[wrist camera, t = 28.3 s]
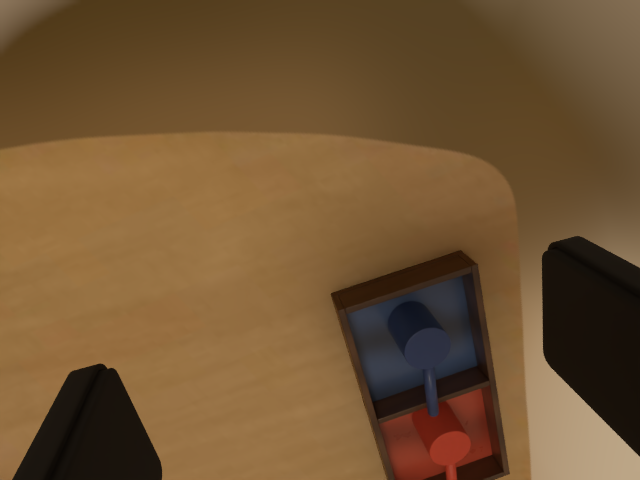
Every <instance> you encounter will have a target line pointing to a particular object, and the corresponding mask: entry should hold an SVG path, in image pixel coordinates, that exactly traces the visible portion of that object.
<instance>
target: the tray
mask: <svg viewBox="0 0 640 480" xmlns="http://www.w3.org/2000/svg"><path fill="white" fill-rule="evenodd" d="M331 297H332V300H333V303H334V307H335V310H336V313H337V316H338V320H339V323H340V326H341V330H342V333H343V336H344V339H345V343H346V346H347V349H348V352H349V356H350V359H351V362H352V366H353V369H354V372H355V375H356V379H357V382H358V385H359V389H360V392H361V395H362V398H363V402H364V405H365V408H366V411H367V415H368V418H369V421H370V425H371V428H372V431H373V434H374V438H375V441H376V444H377V448H378V451H379V454H380V457H381V461H382V464H383V467H384V470H385V474H386V477H387V480H446V471H445V465H439V464H436V463H435V462H433V461H432V459H431V458H430V456H429V454H428V452H427V450H426V448H425V446H424V444H423V442H422V440H421V438H420V436H419V434H418V432H417V430H416V428H415V426H414V423H413V419H412V417H413V413H414V412H415V411H418V410H421V409H424V408H427V404H426V395H425V387H424V379H423V371H422V369H417V368H414V367H412V366H411V365H409V364H408V362H407V361H406V359H405V357H404V356H403V354H402V352H401V351H400V349H399V347H398V345H397V344H396V342H395V340H394V338H393V337H392V335H391V333H390V331H389V329H388V319H389V316H390V314H391V313H392V311H393V310H394V309H395V308H396V307H397V306H399V305H400V304H402V303H405V302H409V301H415V302H419V303H422V304H423V305H425V306H426V307H427V308H428V310H429V311H430V312H431V314H432V315H433V316H434V317H435V319H436V320H437V321H438V322H439V324H440V325H441V326H442V328H443V329H444V330H445V331H446V333H447V334H448V335H449V337H450V340H451V349H450V352H449V354H448V356H447V357H446V359H445V360H444V361H443V362H442V363H440V364H439V365H437V366H436V367H434V369H435V378H436V388H437V397H438V403H441V402H444V401H446V402H447V403H448V404H449V406H450V407H451V409H452V410H453V412H454V414H455V415H456V417H457V418H458V420H459V422H460V423H461V425H462V426H463V428H464V430H465V431H466V433H467V434H468V436H469V438H470V441H471V447H470V450H469V452H468V453H467V455H466V456H465V457H464V458H463V459H462V460H460V461H458V462H457V463H456V472H457V480H495V479H497V478H500V477H503V476H504V475H508V474H510V472H509V466H508V459H507V453H506V446H505V440H504V433H503V427H502V420H501V414H500V407H499V401H498V394H497V388H496V381H495V375H494V368H493V362H492V355H491V349H490V342H489V336H488V329H487V322H486V316H485V309H484V303H483V296H482V290H481V283H480V277H479V270H478V264H477V263H475V262H474V261H473V260H472V259H471V258H469V257H468V256H467V255H466V254H465V253H463V252H462V251H458V252H455V253H452V254H449V255H446V256H443V257H440V258H437V259H434V260H431V261H428V262H425V263H422V264H419V265H416V266H413V267H410V268H407V269H404V270H401V271H398V272H395V273H392V274H389V275H386V276H383V277H380V278H377V279H374V280H371V281H368V282H365V283H362V284H359V285H356V286H353V287H350V288H347V289H344V290H341V291H338V292H334V293H331Z"/></svg>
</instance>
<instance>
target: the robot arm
mask: <svg viewBox="0 0 640 480" xmlns="http://www.w3.org/2000/svg"><path fill="white" fill-rule="evenodd" d="M542 288H543V289H542V295H543V353H544V356H545V359H546V361H547V362H548V364H549V365H550V367H551V368H552V369H553V370H554V371H555V372H556V373H557V374H558V375H559V376H560V377H561V378H562V379H563V380H564V381H565V382H566V383H567V384H568V385H569V386H570V387H571V388H572V389H573V390H574V391H575V392H576V393H577V394H578V395H579V396H580V397H581V398H582V399H583V400H584V401H585V402H586V403H587V404H588V405H589V406H590V407H591V408H592V409H593V410H594V411H595V412H596V413H597V414H598V415H599V416H600V417H601V418H602V419H603V420H604V421H605V422H606V423H607V424H608V425H609V426H610V427H611V428H612V429H613V430H614V431H615V432H616V433H617V434H618V435H619V436H620V437H621V438H622V439H623V440H624V441H625V442H626V443H627V444H628V445H629V446H630V447H631V448H632V449H633V450H634V451H635V452H636V453H637V454H638V455H639V456H640V268H639V267H637V266H635V265H633V264H631V263H629V262H628V261H626V260H624V259H622V258H620V257H618V256H616V255H615V254H613V253H611V252H609V251H607V250H605V249H603V248H601V247H599V246H598V245H596V244H594V243H592V242H590V241H588V240H586V239H585V238H582V237H580V236H575V237H571V238H568V239H564V240H560V241H556V242H553V243H551V244H550V245H549V247H548V251H545V252H544V253H543V256H542ZM12 480H162V467H161V462H160V460H159V457H158V455H157V453H156V451H155V449H154V447H153V445H152V443H151V441H150V439H149V437H148V435H147V432H146V430H145V428H144V426H143V424H142V422H141V420H140V418H139V416H138V414H137V412H136V410H135V408H134V406H133V404H132V402H131V399H130V397H129V395H128V393H127V391H126V389H125V387H124V385H123V383H122V381H121V379H120V377H119V375H118V373H117V371H116V370H115V369H114V368H109V369H107V367H106V366H105V365H103V364H97V365H93V366H89V367H86V368H82V369H78V370H74V371H72V372H70V374H69V375H68V377H67V378H66V380H65V382H64V384H63V386H62V388H61V390H60V392H59V393H58V395H57V397H56V399H55V401H54V403H53V405H52V406H51V408H50V410H49V412H48V414H47V416H46V418H45V420H44V421H43V423H42V425H41V427H40V429H39V431H38V433H37V435H36V436H35V438H34V440H33V442H32V444H31V446H30V448H29V449H28V451H27V453H26V455H25V457H24V459H23V461H22V463H21V464H20V466H19V468H18V470H17V472H16V474H15V476H14V477H13V479H12Z"/></svg>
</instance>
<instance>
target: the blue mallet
mask: <svg viewBox="0 0 640 480" xmlns="http://www.w3.org/2000/svg"><path fill="white" fill-rule="evenodd" d="M388 329H389V331H390V333H391V335H392V337H393V338H394V340H395V342H396V344H397V345H398V347H399V349H400V351H401V352H402V354H403V356H404V357H405V359H406V361H407V362H408V364H409V365H411V366H412V367H414V368H417V369H422V371H423V379H424V387H425V395H426V404H427V412H428V414H429V415H430V416H432V417H436V416H437V415H438V414H439V406H438V397H437V388H436V378H435V369H434V367H436V366H437V365H439V364H440V363H442V362H443V361H444V360H445V359H446V357H447V356H448V354H449V352H450V349H451V340H450V337H449V335H448V334H447V333H446V331H445V330H444V329H443V328H442V326H441V325H440V324H439V322H438V321H437V320H436V319H435V317H434V316H433V315H432V314H431V312H430V311H429V310H428V308H427V307H426V306H425V305H423V304H422V303H419V302H415V301H409V302H405V303H402V304H400V305H399V306H397V307H396V308H395V309H394V310H393V311H392V313H391V314H390V316H389V319H388Z"/></svg>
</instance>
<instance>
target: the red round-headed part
mask: <svg viewBox="0 0 640 480" xmlns="http://www.w3.org/2000/svg"><path fill="white" fill-rule="evenodd" d="M438 406H439V414H438V415H437V416H436V417H432V416H430V415H429V414H428V412H427V408H424V409H421V410H418V411H415V412H414V413H413V417H412V419H413V423H414V426H415V428H416V430H417V432H418V434H419V436H420V438H421V440H422V442H423V444H424V446H425V448H426V450H427V452H428V454H429V456H430V458H431V459H432V461H433V462H435V463H436V464H439V465H445V471H446V480H457V472H456V463H457V462H458V461H460V460H462V459H463V458H464V457H465V456H466V455H467V453H468V452H469V450H470V447H471V441H470V438H469V436H468V434H467V433H466V431H465V430H464V428H463V426H462V425H461V423H460V422H459V420H458V418H457V417H456V415H455V414H454V412H453V410H452V409H451V407H450V406H449V404H448V403H447V402H446V401H444V402H441V403H438Z"/></svg>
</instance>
